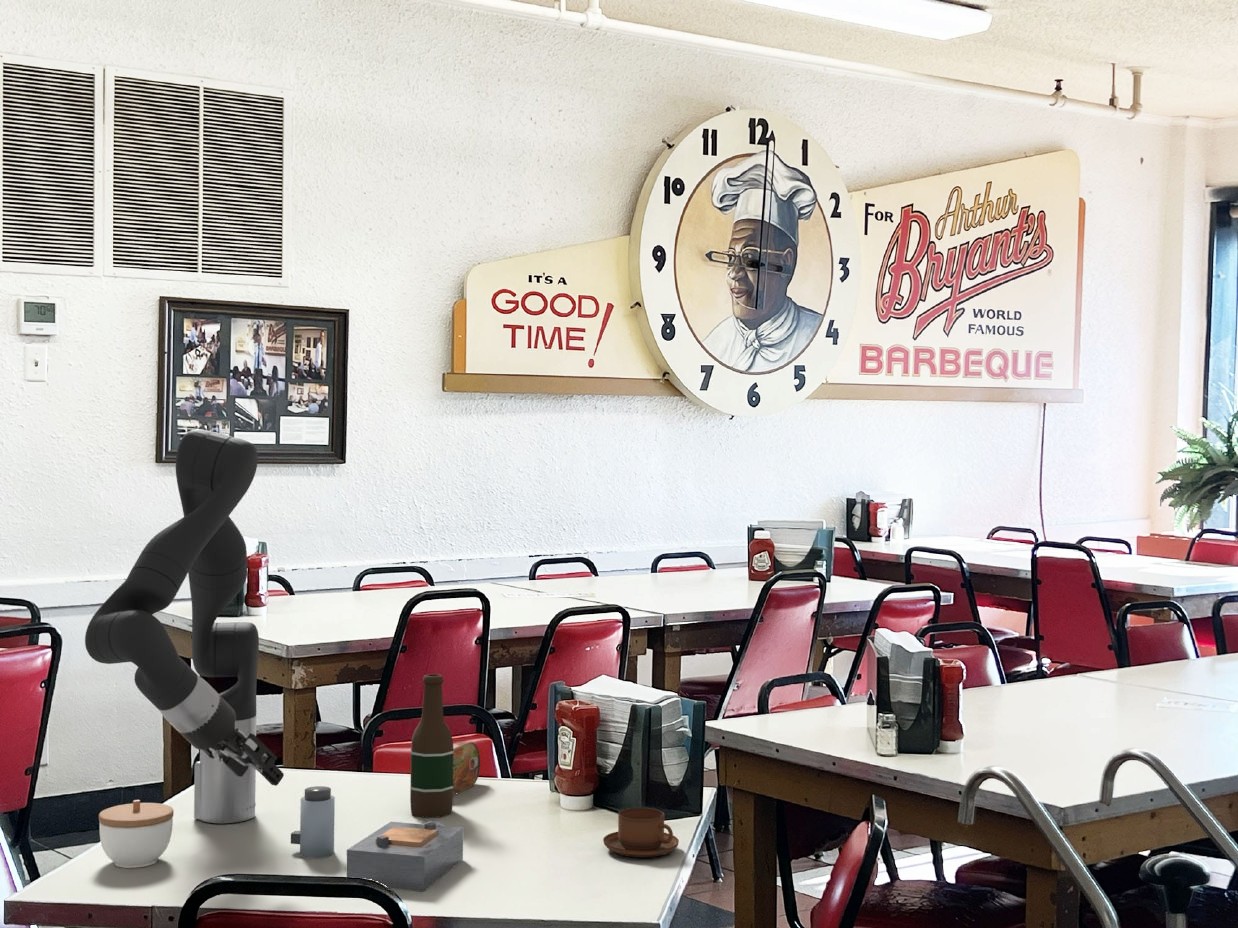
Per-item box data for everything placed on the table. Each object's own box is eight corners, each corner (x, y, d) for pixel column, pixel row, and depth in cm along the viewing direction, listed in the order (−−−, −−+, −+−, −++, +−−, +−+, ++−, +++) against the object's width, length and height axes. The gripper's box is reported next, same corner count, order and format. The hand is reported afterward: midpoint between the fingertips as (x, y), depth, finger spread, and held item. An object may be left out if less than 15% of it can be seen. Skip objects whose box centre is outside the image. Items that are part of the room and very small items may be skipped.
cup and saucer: (687, 845, 222) (688, 807, 222) (665, 866, 211) (666, 826, 211) (617, 838, 226) (618, 800, 226) (592, 857, 215) (592, 818, 215)
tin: (444, 800, 249) (444, 753, 249) (428, 798, 250) (429, 752, 250) (481, 782, 263) (482, 738, 263) (466, 780, 264) (467, 737, 264)
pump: (285, 855, 213) (285, 791, 213) (300, 846, 218) (301, 783, 218) (324, 859, 212) (325, 794, 211) (339, 849, 217) (340, 786, 217)
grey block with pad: (346, 883, 199) (346, 841, 199) (403, 843, 220) (404, 805, 220) (424, 891, 197) (424, 847, 197) (474, 850, 217) (475, 810, 217)
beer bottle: (445, 819, 235) (447, 679, 235) (402, 816, 237) (404, 677, 237) (459, 808, 243) (461, 672, 243) (417, 805, 245) (419, 670, 244)
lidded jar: (181, 865, 207) (181, 803, 207) (106, 876, 201) (107, 812, 201) (163, 848, 216) (163, 788, 216) (91, 858, 210) (92, 797, 210)
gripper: (241, 695, 195) (306, 762, 204) (183, 683, 204) (247, 748, 213) (209, 738, 191) (276, 804, 200) (151, 724, 200) (217, 789, 209)
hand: (261, 775), depth 206 cm, fingers open, 8 cm apart
